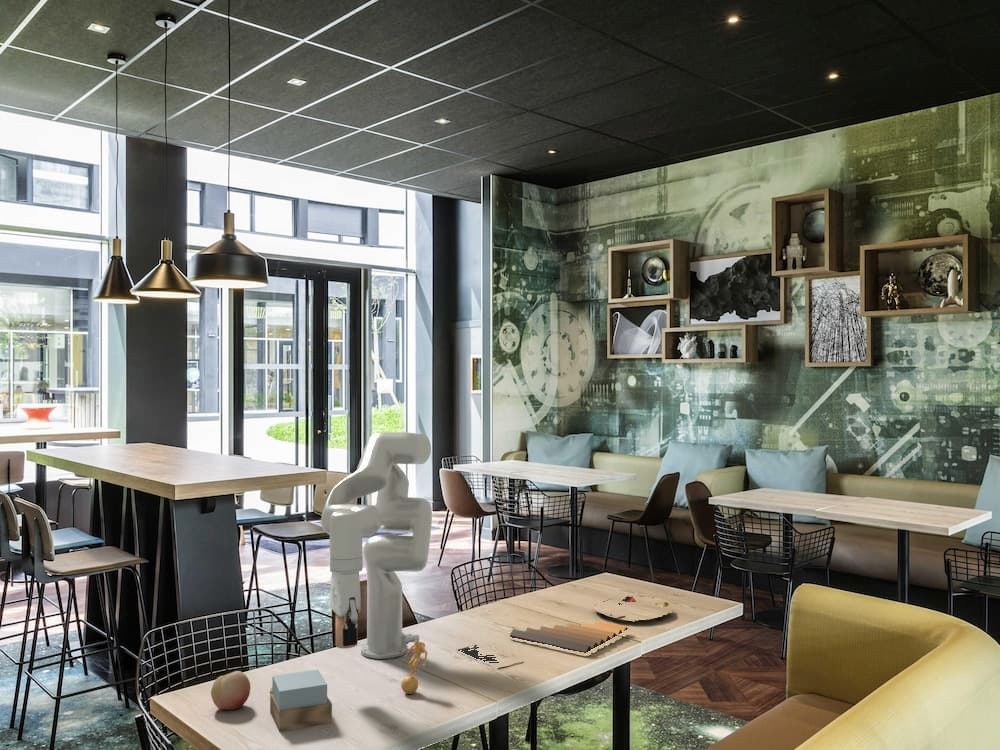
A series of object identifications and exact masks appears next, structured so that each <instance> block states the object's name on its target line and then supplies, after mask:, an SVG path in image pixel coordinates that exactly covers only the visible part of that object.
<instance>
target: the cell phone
mask: <svg viewBox="0 0 1000 750" xmlns="http://www.w3.org/2000/svg"><path fill="white" fill-rule="evenodd" d="M476 646H477V644H474V647H473V648H469V647H470V646H466V647H463V648H460V649H459V648H458V649H457V650H458V651H460V650H462V651H461V652H463V651H464V652H463V653H465V654H467V655H470V656H472V657H474V658H476V659H480V660H482V659H486V660H483V661H484V662H485V661H497V660H495V659H492V658H496V657H487V656H494V655H486V656H478V652H479V651H477V650H475V649H477V648H479V647H476ZM470 649H474V650H471V651H468V650H470ZM480 655H482V654H480ZM479 657H484V658H479ZM489 663H499V662H489Z"/></svg>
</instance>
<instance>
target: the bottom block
mask: <svg viewBox="0 0 1000 750" xmlns="http://www.w3.org/2000/svg"><path fill="white" fill-rule="evenodd" d="M269 696H270V697H269V703H270V704H269V708H270V709H269V710H270V711H269V713H270V716H271V718H272V720H273V722H274V724H275V726H276V728H277V730H278V732H279V733H283V732H288V731H294V730H299V729H305V728H310V727H315V726H316V727H317V726H323V725H326V724H332V723H333V703H332V701H331V699H330V698H329V697H328V696H327V703H325V704H318V705H312V706H306V707H299V708H293V709H287V710H281V711H279V709H278V706H277V704H276V702H275V699H274V697H273V694H270V693H269Z"/></svg>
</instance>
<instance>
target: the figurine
mask: <svg viewBox="0 0 1000 750" xmlns="http://www.w3.org/2000/svg"><path fill="white" fill-rule="evenodd" d="M413 643H414V644H413V645H412V646H410V648H408V651H407V653H405V654H404V658H406V657H407V655H408V654H409V653H410V652H412V650H414V654H413V655H412V657H411V659H410V660H409V662H408V667H409V668H410V669H411V671H410V672H409V674H407V675H406V676H405V677H404V678H403V679H402V681H401V683H400V684H401V685H400V687H401V690H402V691H403V692H404V693H405V694H408V695H410V694H414V693H416V691H417V690H418V688H419V682H418V679H417V678H416V677H415V676H416V675H417V673H418V667H417V666H418V664H420V661H421V656H422V654H423V652H424V659H423V662H422V663H421V664H422V667H423V668H424V667H426V662H427V657H428V651H427V650H426V644H425V643H424V642H423V641H419V642H418V641H417V640H416V641H415V642H413Z"/></svg>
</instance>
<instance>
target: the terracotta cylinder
mask: <svg viewBox="0 0 1000 750" xmlns="http://www.w3.org/2000/svg"><path fill="white" fill-rule="evenodd" d="M349 614H350V612H347V613H346V615H349ZM349 619H350V617H348V618H347V622H348V620H349ZM343 628H344V617H340V616H338V615H337V614H336V613H335V646H336V648H337V649H350V648H351V649H352V648H355V647H357V646H358V643H357V644H356V645H350V646H344V645H343Z"/></svg>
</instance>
